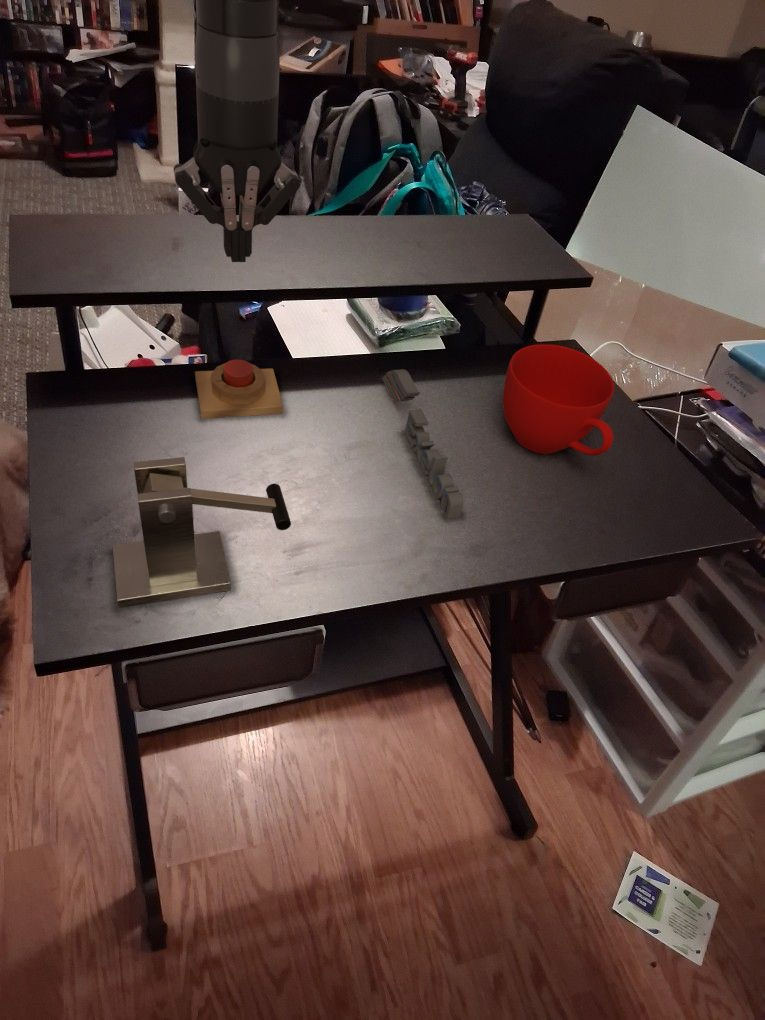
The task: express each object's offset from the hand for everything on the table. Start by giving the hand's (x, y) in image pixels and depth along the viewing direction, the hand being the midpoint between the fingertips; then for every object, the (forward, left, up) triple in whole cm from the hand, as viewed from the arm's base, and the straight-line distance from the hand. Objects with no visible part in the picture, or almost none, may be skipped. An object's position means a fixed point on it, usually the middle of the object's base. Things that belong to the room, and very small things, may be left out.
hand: (237, 258), depth 80 cm
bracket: (+2, -29, -19) cm, 35 cm away
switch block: (0, 0, -19) cm, 19 cm away
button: (0, 0, -16) cm, 16 cm away
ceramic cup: (+40, +3, -19) cm, 44 cm away
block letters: (+23, -2, -19) cm, 30 cm away
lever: (+6, -27, -11) cm, 30 cm away
